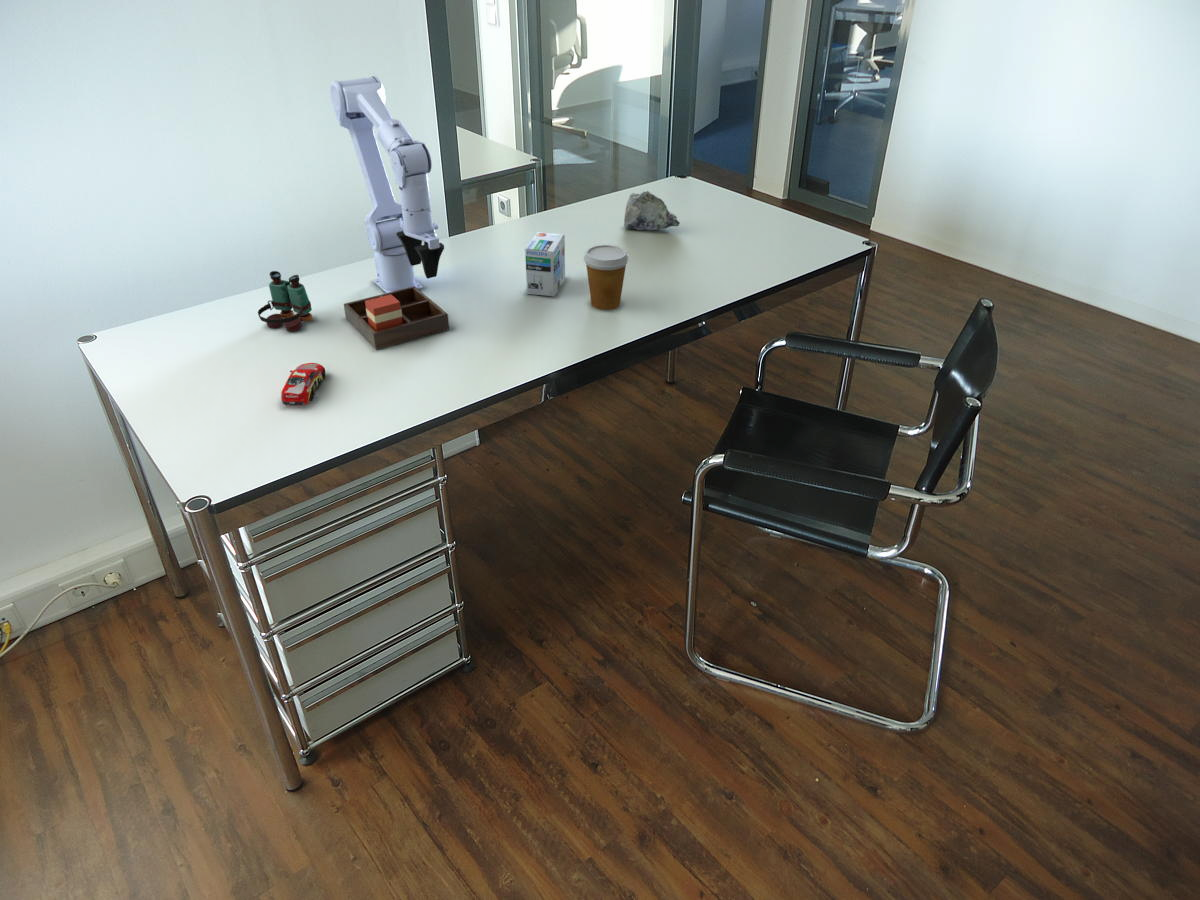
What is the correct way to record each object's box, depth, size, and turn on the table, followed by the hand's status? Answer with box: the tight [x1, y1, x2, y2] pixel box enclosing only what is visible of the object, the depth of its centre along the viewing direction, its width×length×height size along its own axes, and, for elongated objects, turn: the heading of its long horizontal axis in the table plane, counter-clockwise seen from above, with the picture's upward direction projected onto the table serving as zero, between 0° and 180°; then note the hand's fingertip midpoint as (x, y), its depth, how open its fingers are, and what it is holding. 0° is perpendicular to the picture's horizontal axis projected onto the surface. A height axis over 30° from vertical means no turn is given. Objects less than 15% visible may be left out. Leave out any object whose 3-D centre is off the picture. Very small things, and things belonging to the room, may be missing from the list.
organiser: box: [343, 286, 450, 351], centre depth 178 cm, size 16×16×4 cm
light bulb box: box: [524, 231, 566, 298], centre depth 192 cm, size 11×7×11 cm, turn 168°
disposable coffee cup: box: [583, 244, 630, 311], centre depth 185 cm, size 10×10×12 cm
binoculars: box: [257, 270, 314, 333], centre depth 175 cm, size 9×11×10 cm
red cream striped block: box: [365, 294, 403, 332], centre depth 172 cm, size 4×6×7 cm
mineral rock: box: [623, 190, 681, 231], centre depth 222 cm, size 13×11×10 cm
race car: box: [280, 362, 326, 406], centre depth 156 cm, size 13×5×4 cm, turn 178°
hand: (423, 270), depth 179 cm, fingers open, 7 cm apart
